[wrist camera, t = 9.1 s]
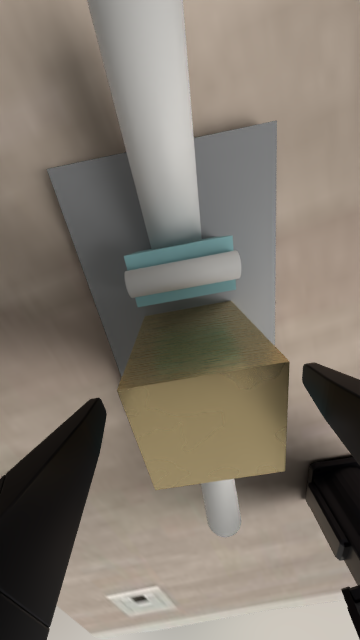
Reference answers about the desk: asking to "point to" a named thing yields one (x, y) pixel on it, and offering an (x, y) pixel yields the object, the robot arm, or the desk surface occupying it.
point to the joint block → (206, 397)
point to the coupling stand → (170, 200)
